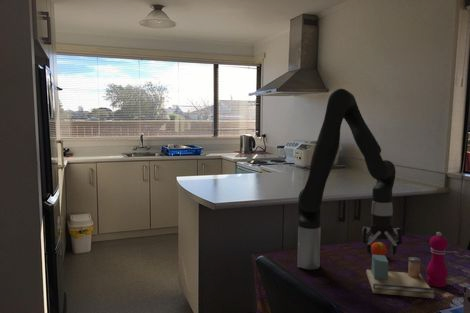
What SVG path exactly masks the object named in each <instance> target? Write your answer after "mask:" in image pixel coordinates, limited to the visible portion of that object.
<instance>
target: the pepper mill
mask: <svg viewBox="0 0 470 313" xmlns="http://www.w3.org/2000/svg"><path fill="white" fill-rule="evenodd" d="M442 235H443V234H442V232H440V231H437V232H436V234H435V235H433V236H432V237H430V238H429V245H430V253H431V260H430V262H429V263H428V265H427V267H426V275H427V278H426V283H427V284H428V285H429V286H433V287H436V288H444V287H446V285H447V280H446V279H447V278H448V276H449V272H448V268H447V266H446V263H445V260H444V259H445V255H446V251H447V250H446V248H448V244H449V243H448V240H447V239H446V237H444V236H442Z"/></svg>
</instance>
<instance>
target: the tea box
mask: <svg viewBox="0 0 470 313" xmlns="http://www.w3.org/2000/svg"><path fill="white" fill-rule="evenodd" d="M370 270H371V272H372V274H373V277H374V279H380V280H388V271H389V260H388V259H387V256H386V254H385V255H373V254H371V269H370Z"/></svg>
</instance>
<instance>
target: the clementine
mask: <svg viewBox="0 0 470 313" xmlns="http://www.w3.org/2000/svg"><path fill="white" fill-rule="evenodd" d="M387 251H388V250H387V246H386V245H385V244H384V243H383V242H381V241H375V242H372V243H371V255H385V256H386V254H387Z"/></svg>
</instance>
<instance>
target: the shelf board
mask: <svg viewBox="0 0 470 313" xmlns="http://www.w3.org/2000/svg"><path fill="white" fill-rule="evenodd" d="M371 270H372V269H366V276H367V279H368V282H369V284H370V289H371V290H372V293H373V294H381V295H394V296H405V297H415V298H416V297H417V298H429V299H435V291H436V290H435V288H432V287H431V286H430V285H429V284H428V282H427V280H425V278H424V277H423V276H422V275H421V273H420V277H419V278H412V277H409V276H408V272H404V271H392V270H391V271H390V270H388V280H380V279H374V277H373V274H372V272H371Z"/></svg>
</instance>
